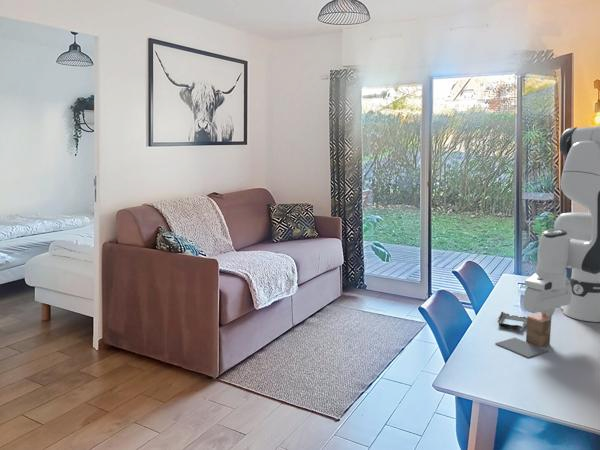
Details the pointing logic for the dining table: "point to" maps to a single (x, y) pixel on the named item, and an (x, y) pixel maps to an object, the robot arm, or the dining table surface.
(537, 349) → the charcoal mat
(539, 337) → the brown rectangular block
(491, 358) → the dining table surface
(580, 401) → the dining table surface
